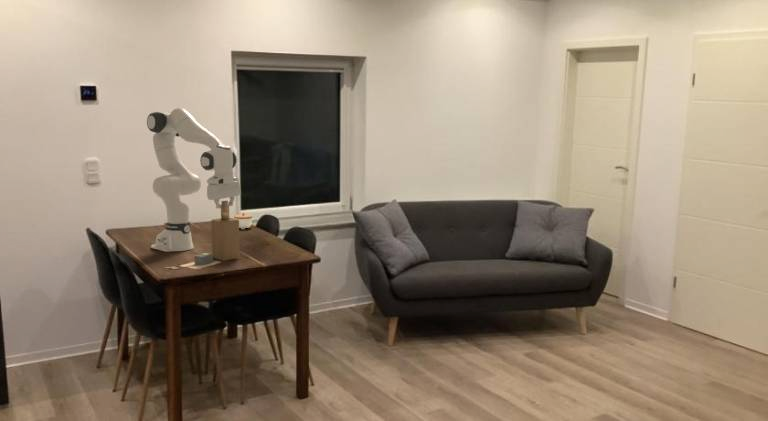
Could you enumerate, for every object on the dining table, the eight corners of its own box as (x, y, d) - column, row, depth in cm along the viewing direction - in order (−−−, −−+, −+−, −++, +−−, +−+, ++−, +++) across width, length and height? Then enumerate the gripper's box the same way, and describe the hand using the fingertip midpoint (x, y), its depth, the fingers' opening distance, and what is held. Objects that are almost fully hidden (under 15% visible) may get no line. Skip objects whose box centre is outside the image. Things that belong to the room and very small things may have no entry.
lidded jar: (252, 229, 403) (252, 214, 402) (234, 230, 401) (234, 214, 399) (252, 226, 414) (251, 211, 412) (234, 226, 411) (234, 211, 410)
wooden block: (228, 255, 336) (227, 216, 333) (240, 259, 330) (239, 219, 327) (211, 259, 329) (210, 219, 326) (223, 262, 322) (222, 222, 319)
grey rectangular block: (194, 263, 315) (194, 255, 314) (205, 260, 321) (204, 252, 320) (202, 265, 313) (202, 256, 312) (213, 262, 319) (212, 253, 318)
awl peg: (219, 219, 325) (218, 201, 324) (224, 218, 329) (224, 200, 327) (225, 220, 323) (225, 201, 322) (231, 218, 327) (230, 200, 326)
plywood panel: (178, 267, 311) (178, 265, 311) (203, 260, 325) (203, 258, 325) (198, 271, 306) (198, 269, 306) (222, 264, 320) (222, 261, 320)
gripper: (233, 176, 333) (233, 203, 336) (204, 180, 315) (205, 209, 318) (243, 177, 330) (243, 204, 333) (214, 181, 313) (215, 210, 315)
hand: (224, 206), depth 325 cm, fingers open, 7 cm apart
